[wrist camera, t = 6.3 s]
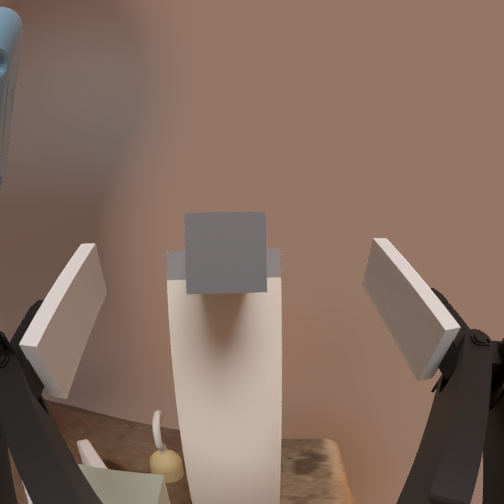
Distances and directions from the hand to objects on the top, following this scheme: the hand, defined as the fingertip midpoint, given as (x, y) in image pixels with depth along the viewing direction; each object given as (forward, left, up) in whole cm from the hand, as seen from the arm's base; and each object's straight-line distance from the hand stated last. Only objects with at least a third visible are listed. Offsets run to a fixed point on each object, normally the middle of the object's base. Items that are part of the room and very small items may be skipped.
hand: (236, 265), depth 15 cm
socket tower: (-1, +15, -33) cm, 36 cm away
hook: (-11, +26, -33) cm, 43 cm away
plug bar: (-1, +9, -1) cm, 9 cm away
